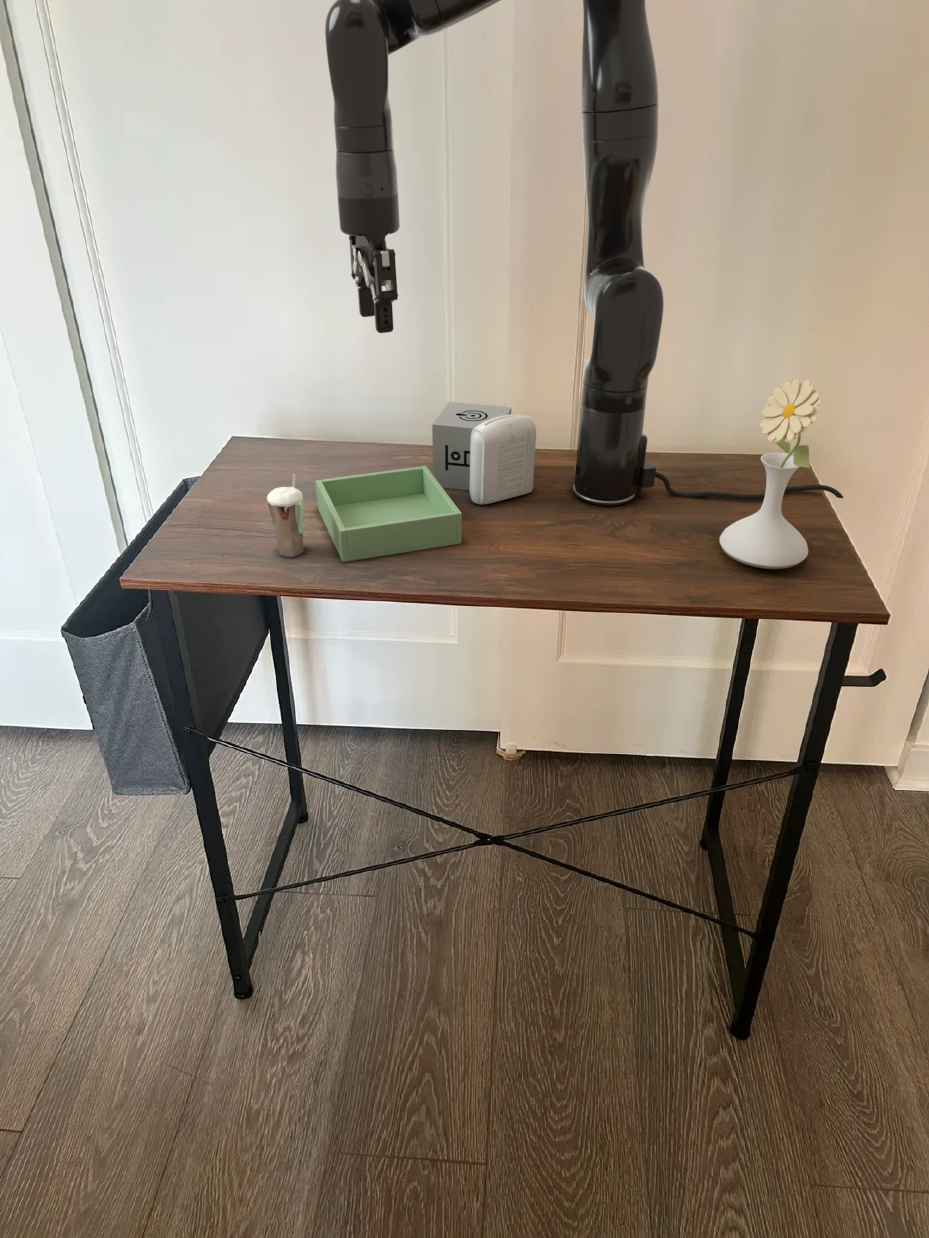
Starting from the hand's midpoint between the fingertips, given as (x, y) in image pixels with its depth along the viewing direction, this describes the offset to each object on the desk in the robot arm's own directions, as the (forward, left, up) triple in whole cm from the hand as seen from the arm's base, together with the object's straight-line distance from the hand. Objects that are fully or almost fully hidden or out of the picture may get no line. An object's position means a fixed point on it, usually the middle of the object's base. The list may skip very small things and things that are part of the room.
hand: (376, 323), depth 120 cm
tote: (+2, +8, -26) cm, 27 cm away
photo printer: (-17, +4, -26) cm, 31 cm away
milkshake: (+16, +11, -26) cm, 32 cm away
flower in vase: (-43, +33, -26) cm, 61 cm away
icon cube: (-15, -4, -26) cm, 30 cm away
